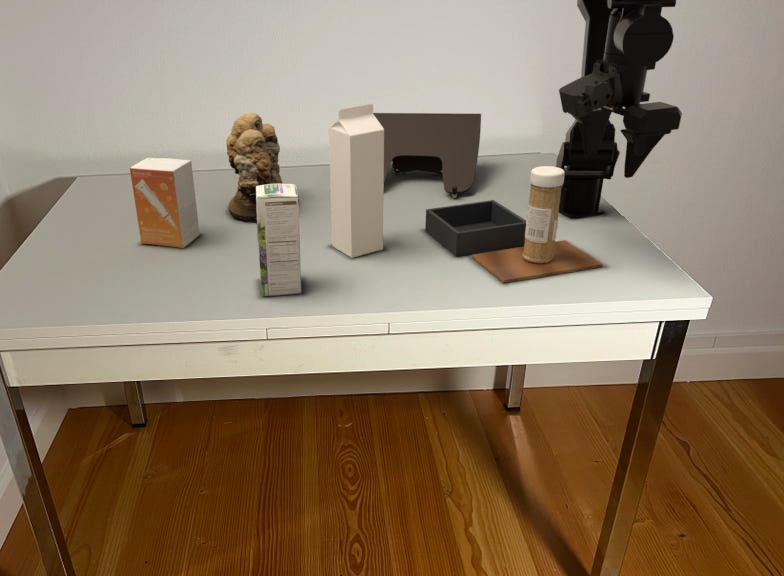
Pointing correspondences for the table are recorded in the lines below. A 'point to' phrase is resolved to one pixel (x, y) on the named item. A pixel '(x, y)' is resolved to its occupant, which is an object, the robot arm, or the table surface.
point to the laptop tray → (433, 145)
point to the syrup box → (278, 239)
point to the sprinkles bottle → (543, 213)
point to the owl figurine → (252, 162)
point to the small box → (165, 201)
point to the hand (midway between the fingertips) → (608, 168)
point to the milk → (357, 181)
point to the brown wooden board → (516, 268)
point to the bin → (475, 227)
